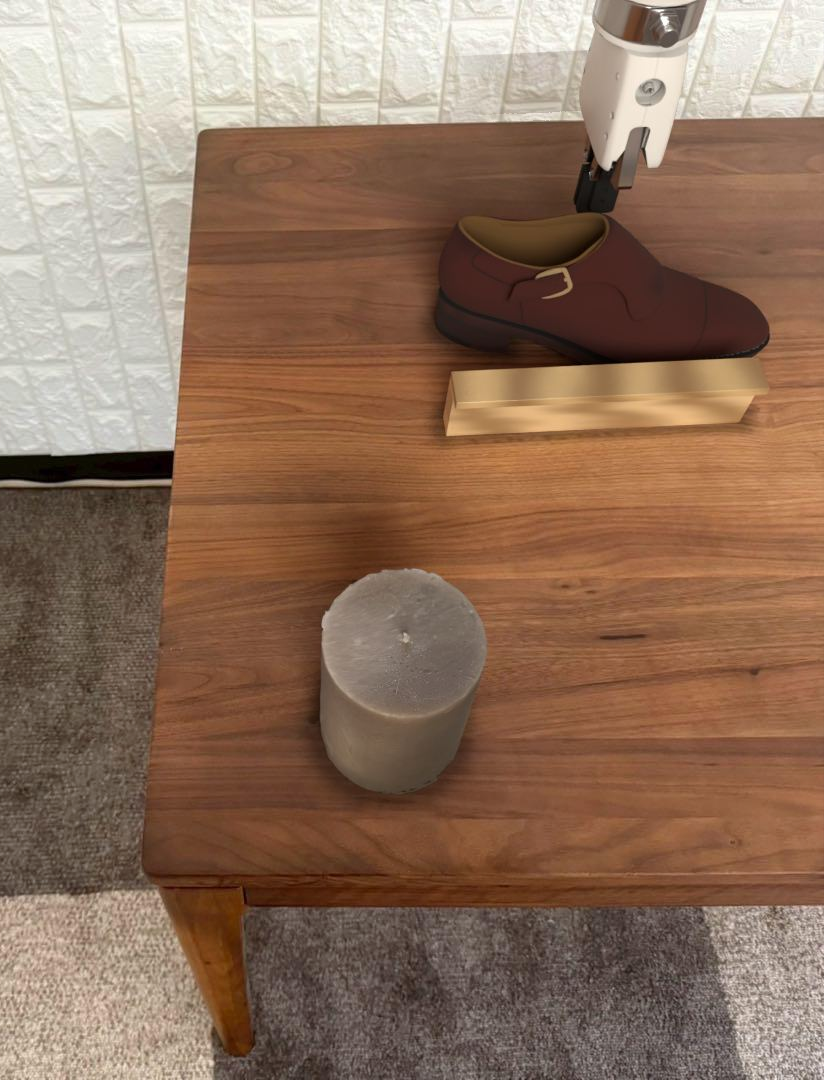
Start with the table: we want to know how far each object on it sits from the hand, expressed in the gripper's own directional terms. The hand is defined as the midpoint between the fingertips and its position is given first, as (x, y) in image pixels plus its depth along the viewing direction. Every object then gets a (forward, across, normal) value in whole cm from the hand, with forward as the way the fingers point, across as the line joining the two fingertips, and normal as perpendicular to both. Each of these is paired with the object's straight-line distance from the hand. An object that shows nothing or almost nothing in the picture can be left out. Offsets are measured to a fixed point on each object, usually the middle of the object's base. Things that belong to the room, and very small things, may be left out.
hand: (592, 206), depth 88 cm
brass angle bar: (+6, -19, +3) cm, 20 cm away
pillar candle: (+6, -44, +22) cm, 50 cm away
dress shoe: (+6, -10, +1) cm, 12 cm away
